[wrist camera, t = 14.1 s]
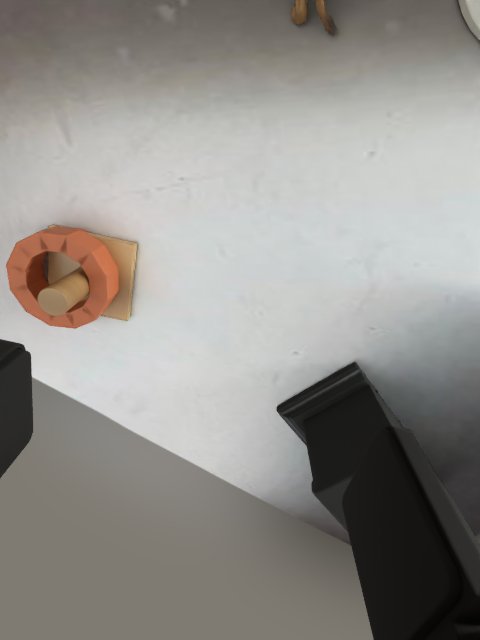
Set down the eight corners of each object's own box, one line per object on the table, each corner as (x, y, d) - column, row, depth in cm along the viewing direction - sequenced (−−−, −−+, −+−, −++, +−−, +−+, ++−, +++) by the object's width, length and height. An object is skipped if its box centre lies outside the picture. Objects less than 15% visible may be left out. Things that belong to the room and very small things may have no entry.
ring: (20, 221, 32) (-1, 227, 29) (117, 233, 32) (105, 239, 30) (33, 309, 36) (15, 322, 33) (119, 319, 36) (109, 332, 33)
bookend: (274, 406, 41) (300, 672, 20) (355, 358, 38) (491, 609, 17) (370, 517, 48) (467, 800, 27) (445, 484, 46) (620, 771, 24)
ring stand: (53, 224, 33) (-3, 241, 26) (137, 243, 34) (106, 265, 26) (53, 301, 36) (3, 336, 29) (130, 317, 37) (100, 355, 30)
